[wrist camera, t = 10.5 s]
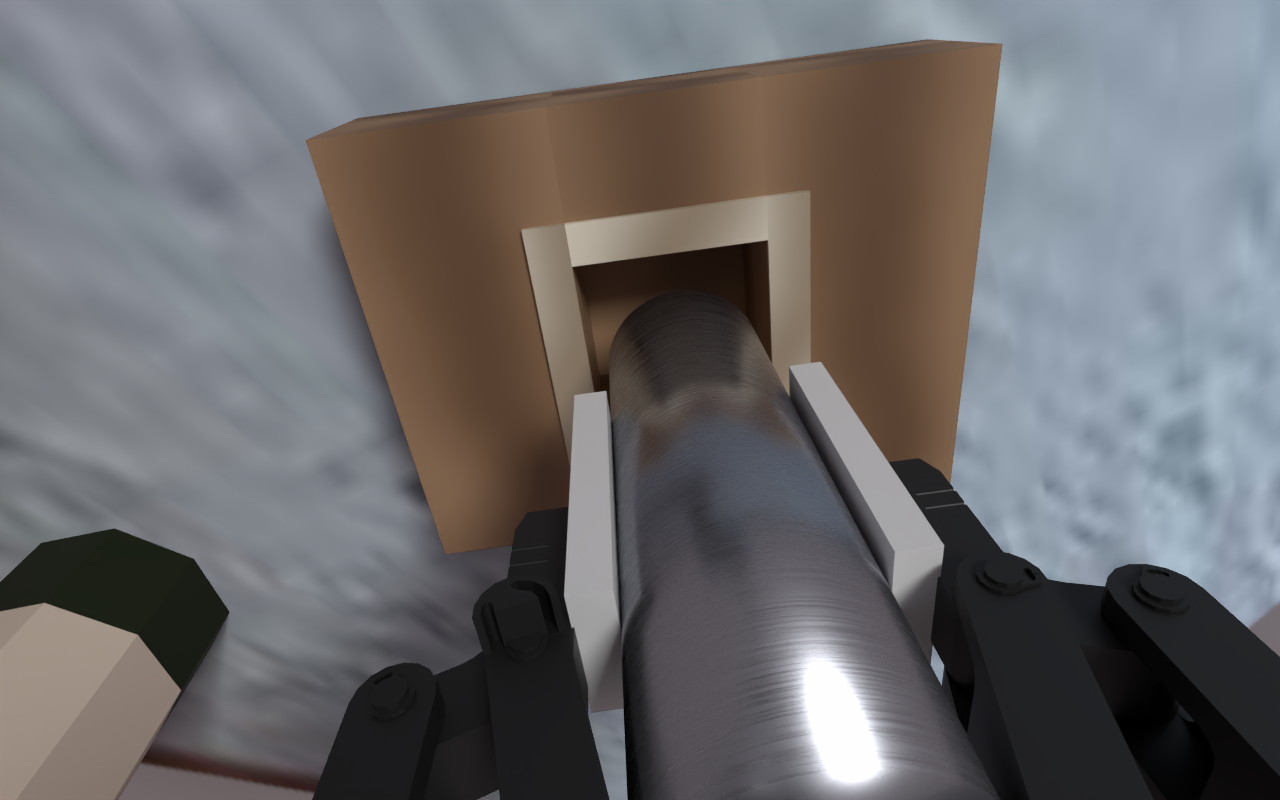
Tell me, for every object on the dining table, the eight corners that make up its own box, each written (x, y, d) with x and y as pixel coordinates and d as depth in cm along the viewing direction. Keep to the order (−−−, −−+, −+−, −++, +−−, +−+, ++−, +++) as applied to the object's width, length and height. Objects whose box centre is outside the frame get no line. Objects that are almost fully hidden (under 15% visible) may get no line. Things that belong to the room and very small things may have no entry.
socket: (465, 480, 29) (444, 558, 24) (357, 118, 22) (302, 141, 18) (900, 421, 28) (952, 489, 24) (927, 39, 22) (1006, 44, 18)
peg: (619, 436, 21) (655, 1004, 9) (598, 301, 19) (606, 801, 7) (762, 417, 21) (995, 960, 9) (756, 280, 19) (1049, 742, 7)
